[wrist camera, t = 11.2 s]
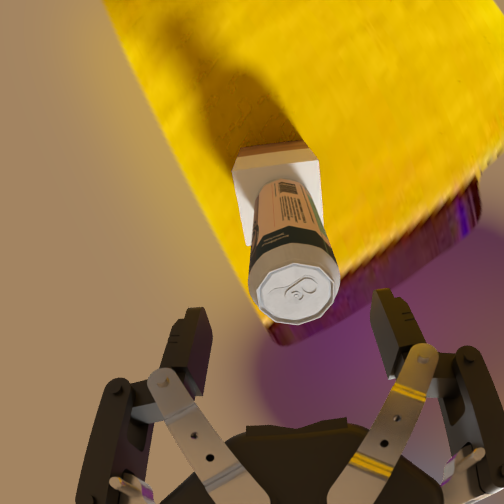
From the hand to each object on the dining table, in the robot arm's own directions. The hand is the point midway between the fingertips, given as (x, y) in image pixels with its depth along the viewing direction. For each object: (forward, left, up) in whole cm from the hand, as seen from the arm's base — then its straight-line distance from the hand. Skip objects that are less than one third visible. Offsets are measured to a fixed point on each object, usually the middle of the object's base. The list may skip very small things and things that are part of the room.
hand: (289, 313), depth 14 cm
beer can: (0, 0, -13) cm, 13 cm away
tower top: (0, 0, -18) cm, 18 cm away
